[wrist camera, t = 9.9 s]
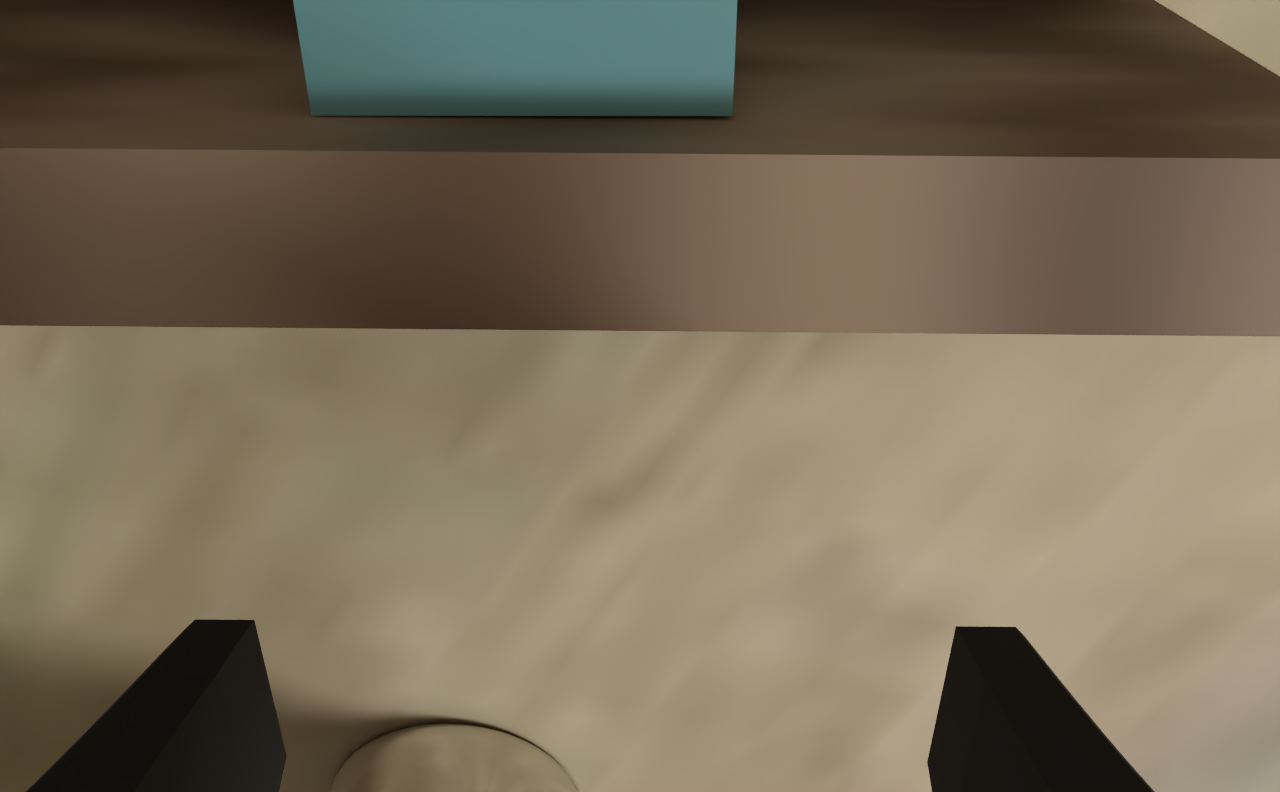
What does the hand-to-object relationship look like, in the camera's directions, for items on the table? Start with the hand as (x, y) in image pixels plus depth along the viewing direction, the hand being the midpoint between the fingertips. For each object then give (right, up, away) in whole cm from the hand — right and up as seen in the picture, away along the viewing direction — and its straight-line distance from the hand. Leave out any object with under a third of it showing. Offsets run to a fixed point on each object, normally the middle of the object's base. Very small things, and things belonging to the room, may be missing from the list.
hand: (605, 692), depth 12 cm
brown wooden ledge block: (-1, +10, +5) cm, 11 cm away
